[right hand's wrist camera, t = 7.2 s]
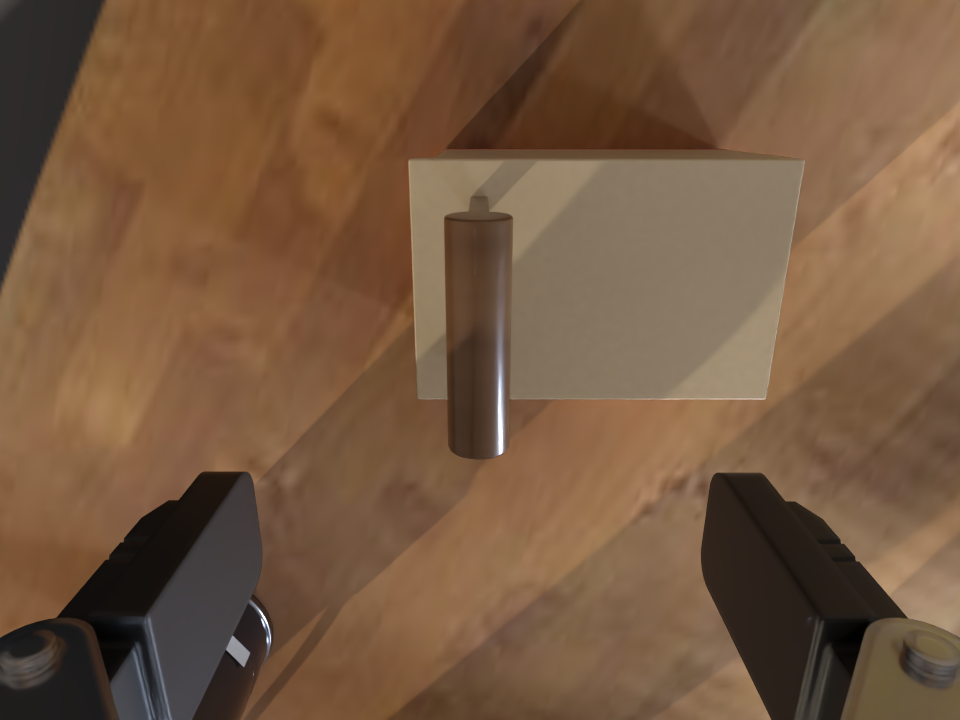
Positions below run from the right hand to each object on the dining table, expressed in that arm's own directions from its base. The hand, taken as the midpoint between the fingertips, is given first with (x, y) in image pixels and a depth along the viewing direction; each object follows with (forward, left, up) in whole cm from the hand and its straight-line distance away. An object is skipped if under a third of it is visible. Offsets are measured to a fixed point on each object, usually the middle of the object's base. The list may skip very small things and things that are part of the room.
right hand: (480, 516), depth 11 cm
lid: (+1, -5, -18) cm, 19 cm away
